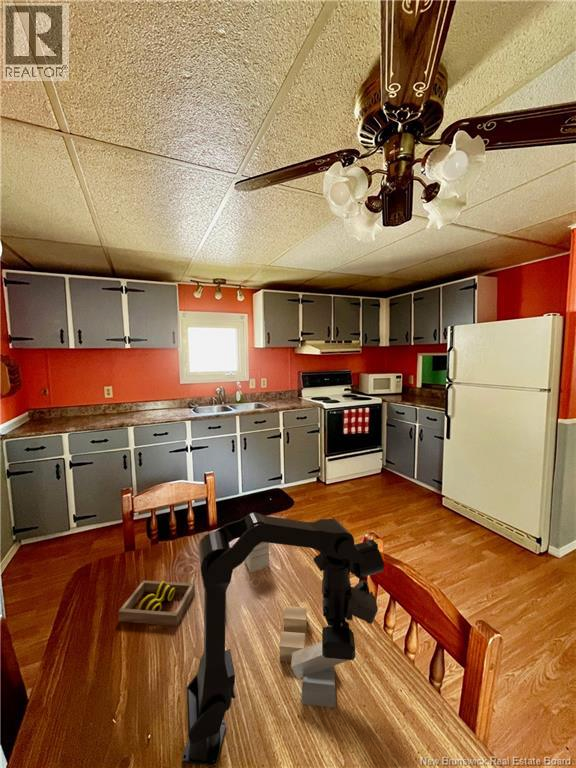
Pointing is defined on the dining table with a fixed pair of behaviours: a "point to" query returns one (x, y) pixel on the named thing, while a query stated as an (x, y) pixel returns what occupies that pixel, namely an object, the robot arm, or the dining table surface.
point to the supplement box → (258, 557)
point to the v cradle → (319, 688)
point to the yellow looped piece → (157, 598)
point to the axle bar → (311, 661)
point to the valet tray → (156, 616)
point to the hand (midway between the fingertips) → (336, 648)
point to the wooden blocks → (293, 632)
